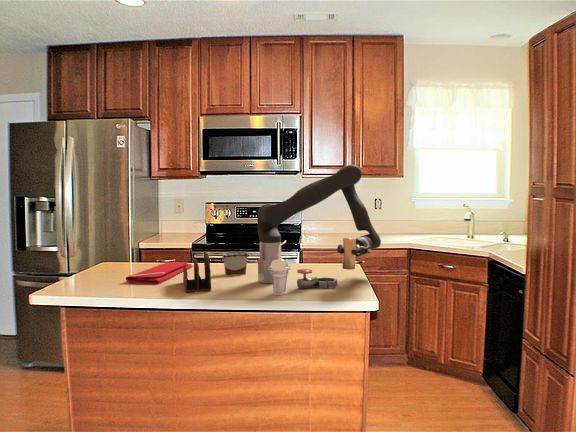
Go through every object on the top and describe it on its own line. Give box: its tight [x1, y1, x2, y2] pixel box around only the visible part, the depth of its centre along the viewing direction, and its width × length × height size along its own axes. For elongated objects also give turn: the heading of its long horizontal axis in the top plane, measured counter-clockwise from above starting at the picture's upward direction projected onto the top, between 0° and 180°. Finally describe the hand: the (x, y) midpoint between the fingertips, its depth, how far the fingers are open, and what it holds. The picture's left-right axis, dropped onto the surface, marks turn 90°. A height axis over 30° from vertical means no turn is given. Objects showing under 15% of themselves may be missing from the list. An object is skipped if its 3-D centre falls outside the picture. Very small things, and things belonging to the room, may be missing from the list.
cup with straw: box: [268, 240, 291, 296], centre depth 192 cm, size 8×9×20 cm
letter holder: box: [182, 251, 212, 294], centre depth 204 cm, size 10×20×14 cm, turn 15°
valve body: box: [296, 268, 338, 290], centre depth 204 cm, size 18×9×7 cm, turn 116°
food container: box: [222, 251, 249, 276], centre depth 232 cm, size 12×6×10 cm, turn 108°
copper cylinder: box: [342, 237, 356, 271], centre depth 199 cm, size 5×5×12 cm
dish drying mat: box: [125, 261, 193, 285], centre depth 230 cm, size 16×41×4 cm, turn 171°
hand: (347, 251), depth 196 cm, fingers closed on copper cylinder, 5 cm apart
